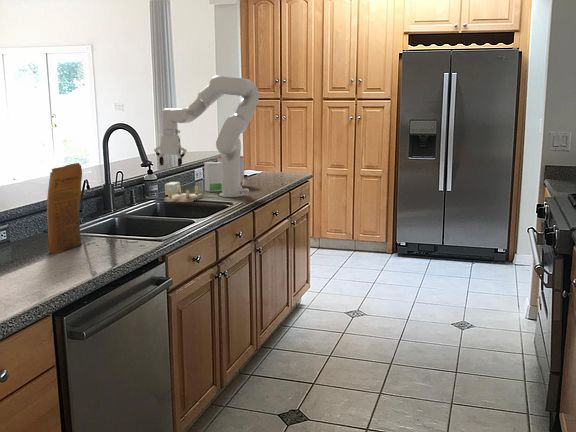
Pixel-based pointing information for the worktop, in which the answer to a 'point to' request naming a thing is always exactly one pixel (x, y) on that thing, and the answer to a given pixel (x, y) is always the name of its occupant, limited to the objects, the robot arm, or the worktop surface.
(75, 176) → the pancake mix bag
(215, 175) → the skincare box
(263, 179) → the worktop surface
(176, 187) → the block
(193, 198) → the mount plate
